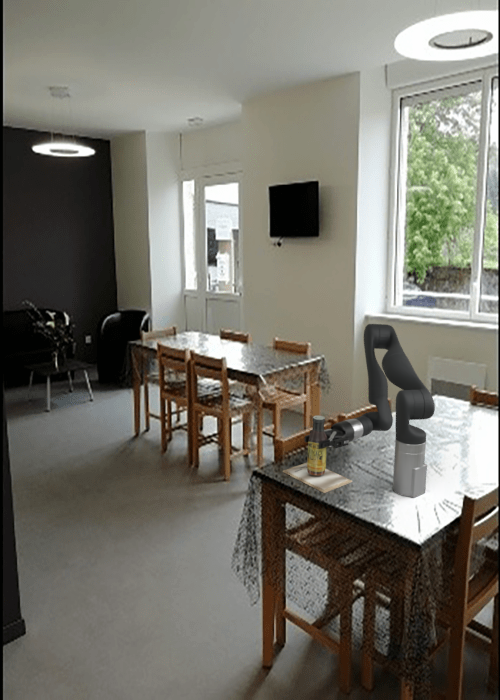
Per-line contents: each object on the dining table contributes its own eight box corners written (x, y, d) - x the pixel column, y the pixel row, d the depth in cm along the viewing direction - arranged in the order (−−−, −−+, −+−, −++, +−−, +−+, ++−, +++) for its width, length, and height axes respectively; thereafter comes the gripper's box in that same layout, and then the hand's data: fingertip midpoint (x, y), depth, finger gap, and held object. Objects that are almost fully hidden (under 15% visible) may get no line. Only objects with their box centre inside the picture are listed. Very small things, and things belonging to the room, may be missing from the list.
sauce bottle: (304, 474, 188) (304, 418, 183) (311, 467, 193) (311, 412, 189) (322, 478, 185) (323, 421, 180) (329, 471, 190) (329, 415, 186)
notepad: (352, 482, 185) (352, 479, 185) (324, 493, 177) (324, 491, 177) (310, 462, 200) (310, 460, 200) (282, 472, 193) (282, 470, 192)
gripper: (332, 415, 199) (297, 425, 189) (363, 426, 188) (328, 438, 178) (332, 435, 201) (297, 446, 191) (362, 447, 190) (327, 460, 180)
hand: (312, 442), depth 185 cm, fingers open, 6 cm apart
